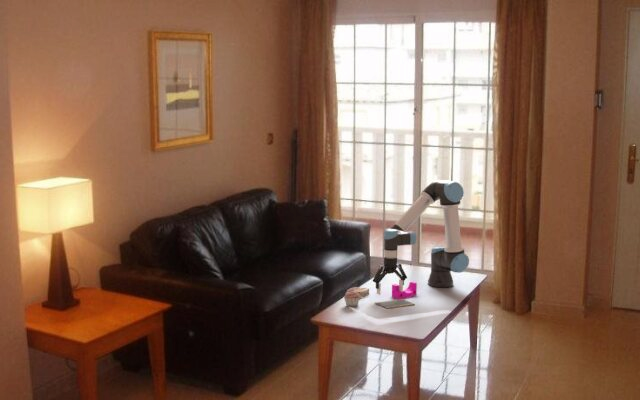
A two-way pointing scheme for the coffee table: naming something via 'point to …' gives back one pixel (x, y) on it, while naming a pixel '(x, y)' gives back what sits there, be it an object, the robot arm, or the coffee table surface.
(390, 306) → the mat
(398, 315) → the coffee table surface
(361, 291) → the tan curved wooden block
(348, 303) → the cupcake
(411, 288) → the toy block
